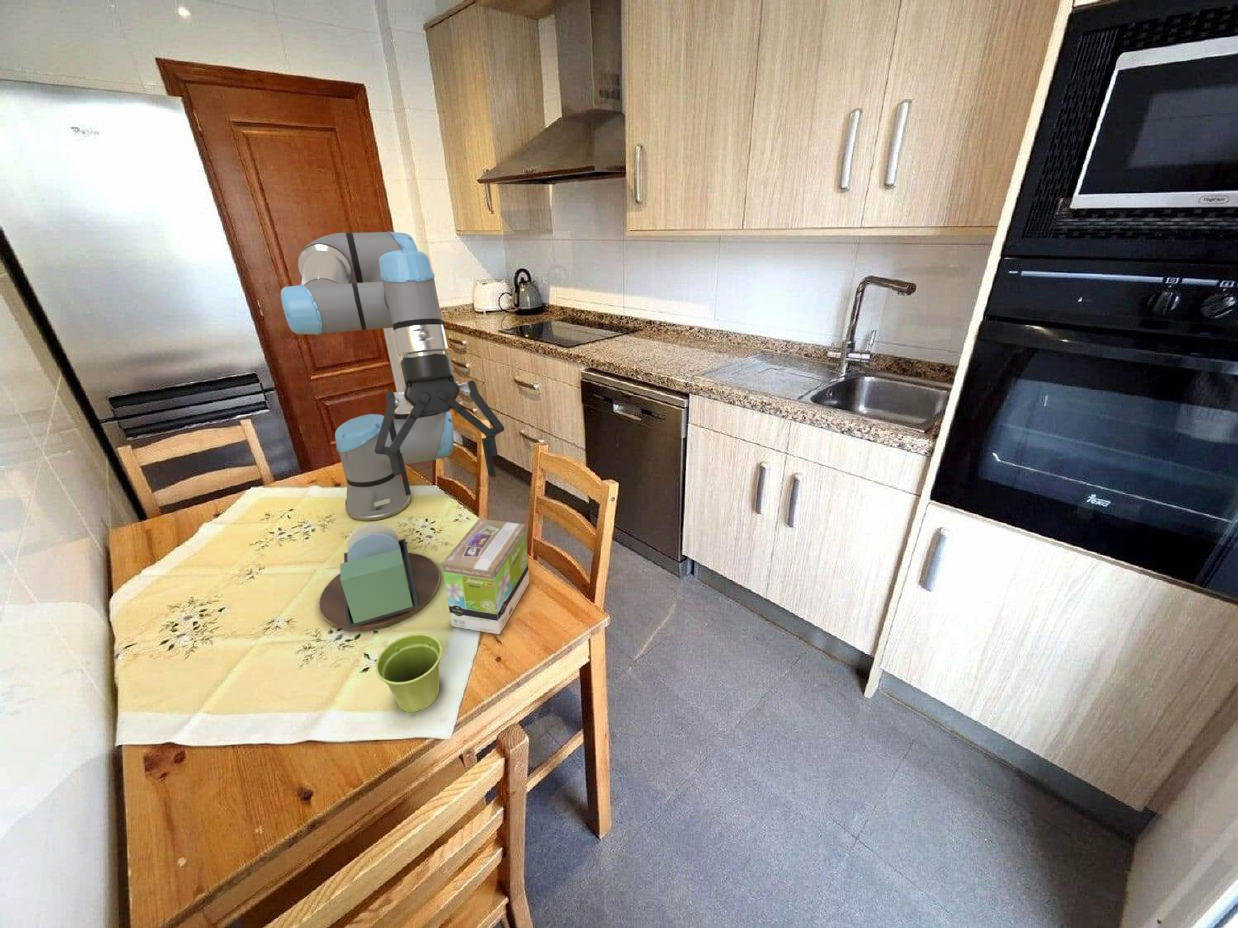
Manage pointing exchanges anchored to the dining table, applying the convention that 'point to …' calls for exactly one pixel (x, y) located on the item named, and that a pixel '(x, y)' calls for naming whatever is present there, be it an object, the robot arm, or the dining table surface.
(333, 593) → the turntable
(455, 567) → the tea box
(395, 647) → the plant pot
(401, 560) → the dish rack
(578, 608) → the dining table surface
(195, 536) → the dining table surface
